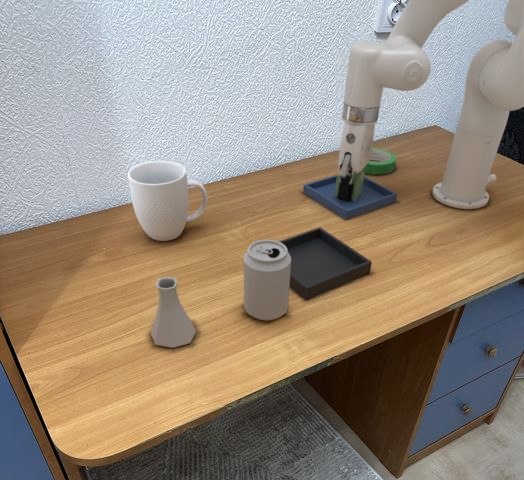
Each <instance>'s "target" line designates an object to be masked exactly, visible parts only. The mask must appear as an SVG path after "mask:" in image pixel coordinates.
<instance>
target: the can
mask: <svg viewBox="0 0 524 480" xmlns="http://www.w3.org/2000/svg"><path fill="white" fill-rule="evenodd" d="M290 269H291V256H290V254H289V253H288V249H287V247H286V246H285V245H284V244H282V243H281V242H279V241H278V240H273V239H259V240H256V241H254V242H252V243H251V244H249V246H248V247H247V251H246V252H245V253H244V255H243V308H244V309H245V312H246V313H247V314H248V316H251V317H252V318H254V319H256V320H260V321H274V320H277V319H279V318H280V317H282V316H283V315H285V314H286V313H287V311H288V310H289V299H290V298H289V296H290V286H289V284H290Z"/></svg>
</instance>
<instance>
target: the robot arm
mask: <svg viewBox="0 0 524 480" xmlns="http://www.w3.org/2000/svg"><path fill="white" fill-rule="evenodd" d="M469 1H470V0H409V1H408V3H407V4H406V5H405V7H404V8H403V10H402V12H401V14H400V15H399V16H398V18H397V20H396V22H395V24H394V25H393V28H392V30H391V32H390V34H389V35H388V37H387V39H386V41H385V43H384V44H383V43H381V42H375V41H360V42H357V43H354V44H353V45H352V46H351V48H350V50H349V55H348V62H347V63H348V64H347V70H346V78H345V87H344V95H343V101H342V102H343V103H342V112H341V120H342V122H344V124H343V130H342V135H341V140H340V146H339V152H338V153H339V154H338V160H337V168H338V170H340V172H339V173H340V175H339V176H340V181H339V190H338V197H337V198H338V199H340V200H344V201H349V202H350V201H351V200H352V193H353V187H354V184H352V183H353V179H354V174H355V172H356V173H359V172H361V171H362V170H363V168H364V167H365V166H366V165H367V163H368V162H369V161H371V160H370V158H371V153H372V148H373V144H374V137H375V126H376V124H377V123H378V121H379V114H380V109H381V103H382V97H383V92H384V88H387V89H392V90H395V91H401V92H410V91H415V90H417V89H419V88H420V87H423V85H424V84H425V83H426V82H427V80H428V79H429V77H430V74H431V67H432V65H431V61H430V58H429V55H428V54H427V53H426V52H425V50H423V48H424V46H425V44H426V42H427V40H428V39H429V37H430V36H431V34H432V33H433V31H434V30H435V29H436V27H437V26H438V25H439V24H440V22H441V21H442V20H443V19H444V18H445V17H446V16H447V15H449V14H450V13H452V12H453V11H455V10H457V9H459V8H461V7H462V6H464V5H465V4H467V3H468V2H469ZM503 21H504V25H505V27H506V28H507V30H509V32H510V33H511V34H513V35H515V38H514V40H513V41H512V42H510V41H508V40H494V41H489V42H488V43H486V44H484V45H483V46H482V47H480V48H479V49H478V51H476V53H475V54H474V56H473V57H472V59H471V60H470V63H469V65H468V68H467V72H466V78H465V84H464V85H465V86H464V93H463V99H462V105H461V109H460V112H459V113H460V114H459V117H458V120H457V125H456V127H455V132H454V135H453V139H452V143H451V145H450V150H449V154H448V158H447V162H446V165H445V169H444V173H443V176H442V179H441V180H442V181H441V182H438V183H437V184H435V185H434V186H433V188H432V196H433V198H434V199H435V200H436V201H438V202H439V203H441V204H443V205H445V206H448V207H451V208H455V209H462V210H474V209H480V208H483V207H485V206H486V205H487V204H488V203H489V200H490V194H489V193H488V192H487V190H486V189H487V186H488V185H490V184H493V183H495V182H496V181H497V179H498V178H497V176H496V174H494V173H491V170H492V167H493V165H494V162H495V159H496V155H497V152H498V150H499V147H500V144H501V141H502V138H503V134H504V132H505V129H506V127H507V123H508V119H509V115H510V112H513V111H517V110H520V109H522V108H524V0H508V2H507V4H506V6H505V8H504V13H503ZM351 169H352V170H351ZM347 172H348V173H351V176H350V177H349V175H348V174H347Z"/></svg>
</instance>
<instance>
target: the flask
mask: <svg viewBox="0 0 524 480" xmlns="http://www.w3.org/2000/svg"><path fill="white" fill-rule="evenodd" d="M178 284H179V283H178V280H177V278H176V277H172V276H165V277H160V278H158V279H157V281H156V282H155V286H156V288H157V290H158V305H157V309H156V313H155V317H154V321H153V324H152V327H151V330H150V331H151V332H150V335H151V338H152V341H153V343H154V345H155V346H160V347H166V348H171V349H174V348H177V347H181V346H185V345H188V344H191V342H192V341H193V339H194V337H195V335H196V333H197V331H196V329H195V326H194V325H193V322H192V320H191V319H190V317H189V315H188V313H187V312H186V310H185V308H184V306H183V305H182V303H181V301H180V299H179V295H178V292H177V291H178V290H177V287H178V286H179V285H178Z"/></svg>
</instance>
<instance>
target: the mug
mask: <svg viewBox="0 0 524 480" xmlns="http://www.w3.org/2000/svg"><path fill="white" fill-rule="evenodd" d="M187 175H188V174H187V169H186V167H185V166H183V165H182V164H181V163H178V162H176V161H170V160H151V161H145V162H142V163H138V164H136V165H134V166H132V167H131V168H130V169H129V170H128V172H127V178H128V179H127V180H128V187H129V191H130V197H131V202H132V207H133V211H134V213H135V216H136V218H137V221H138V223H139V225H140V227H141V228H142V230H143V231H144V232H145V234H146V235H147V236H148V237H149V238H150V239H152V240H155V241H158V242H168V241H172V240H175V239H177V238H178V237H180V236H181V235H182V233H183V231H184V230H185V228H186V227H185V226H186V224H187V223H189V222H191V221H194V220H196V219H198V218H200V217H201V216H202V215H203V214H204V213H205V211H206V209H207V207H208V201H209V200H208V199H209V198H208V192H207V191H206V188H205V187H204V185H203V184H202V183H201V182H200V181H198V180H195V179H191V178H190V179H188V176H187ZM191 187H197V188H198V189H199V190H200V193H201V194H202V202H201V205H200V207H199V208H198V210H196V211H195V212H193V213H192V214H189V203H190V202H189V200H190V198H189V188H191Z"/></svg>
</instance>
